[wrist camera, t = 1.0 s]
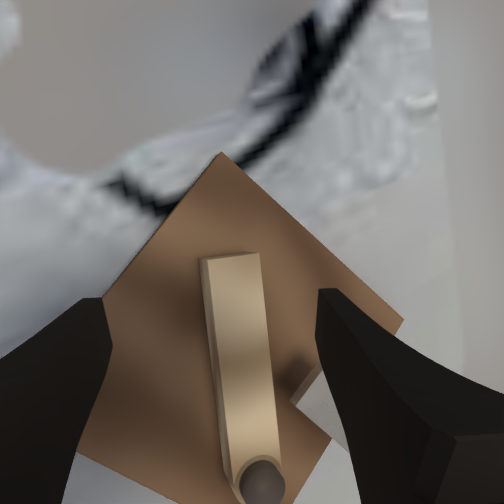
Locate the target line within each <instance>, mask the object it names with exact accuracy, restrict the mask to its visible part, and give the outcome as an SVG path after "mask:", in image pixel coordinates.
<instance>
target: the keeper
mask: <svg viewBox="0 0 504 504" xmlns="http://www.w3.org/2000/svg"><path fill="white" fill-rule="evenodd" d="M289 401H290V402H291V403H292V404H294V405H295V406H296V407H297V408H298V409H299V410H300V411H302V412H303V413H304V414H305V415H306V416H307V417H308V418H310V419H311V420H312V421H313V422H314V423H315V424H317V425H318V426H319V427H320V428H321V429H322V430H323V431H325V432H326V433H327V434H328V435H329V436H330V437H331V438H333V439H334V440H335V441H336V442H337V443H338V444H340V445H341V446H342V447H343V448H344V449H345V450H346V451H348V452H349V448H348V444H347V440H346V436H345V432H344V429H343V426H342V423H341V420H340V417H339V414H338V411H337V409H336V406H335V403H334V400H333V397H332V395H331V392H330V389H329V386H328V383H327V381H326V378H325V375H324V372H323V369H322V366H321V363H320V360H319V361H318V362H317V364H316V365H315V366H314V368H313V369H312V370H311V372H310V373H309V374H308V376H307V377H306V378H305V380H304V381H303V382H302V384H301V385H300V386H299V388H298V389H297V390H296V392H295V393H294V394H293V396H292V397H291V398H290V400H289ZM349 453H350V452H349Z"/></svg>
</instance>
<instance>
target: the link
mask: <svg viewBox="0 0 504 504" xmlns="http://www.w3.org/2000/svg"><path fill="white" fill-rule="evenodd" d="M199 266H200V274H201V283H202V291H203V300H204V308H205V316H206V325H207V333H208V342H209V350H210V359H211V367H212V376H213V384H214V392H215V401H216V409H217V418H218V426H219V435H220V443H221V451H222V460H223V468H224V473H225V476H226V478H227V480H228V482H229V484H230V486H231V488H232V490H233V492H234V494H235V496H236V498H237V499H238V501H239V502H240V503H241V504H279V503H280V502H281V500H282V499H283V496H284V493H285V480H284V478H283V476H282V464H281V455H280V445H279V436H278V426H277V417H276V407H275V398H274V388H273V379H272V369H271V360H270V350H269V341H268V331H267V322H266V312H265V302H264V293H263V283H262V274H261V264H260V255H259V253H255V252H240V253H233V254H226V255H218V256H211V257H204V258H199Z"/></svg>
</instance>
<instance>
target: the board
mask: <svg viewBox="0 0 504 504" xmlns="http://www.w3.org/2000/svg"><path fill="white" fill-rule="evenodd" d="M240 252H255V253H259V255H260V264H261V274H262V283H263V293H264V302H265V312H266V322H267V331H268V341H269V350H270V360H271V369H272V379H273V388H274V398H275V407H276V417H277V426H278V436H279V445H280V455H281V464H282V476H283V478H284V480H285V493H284V496H283V499H282V500H281V502H280V503H279V504H293V502H294V500H295V499H296V497H297V495H298V494H299V492H300V490H301V489H302V487H303V485H304V484H305V482H306V480H307V479H308V477H309V475H310V474H311V472H312V471H313V469H314V467H315V466H316V464H317V462H318V461H319V459H320V457H321V456H322V454H323V452H324V451H325V449H326V447H327V446H328V444H329V443H330V441H331V439H332V438H331V437H330V436H329V435H328V434H327V433H326V432H325V431H323V430H322V429H321V428H320V427H319V426H318V425H317V424H315V423H314V422H313V421H312V420H311V419H310V418H308V417H307V416H306V415H305V414H304V413H303V412H302V411H300V410H299V409H298V408H297V407H296V406H295V405H294V404H292V403H291V402H290V401H289V400H290V398H291V397H292V396H293V394H294V393H295V392H296V390H297V389H298V388H299V386H300V385H301V384H302V382H303V381H304V380H305V378H306V377H307V376H308V374H309V373H310V372H311V370H312V369H313V368H314V366H315V365H316V364H317V362H318V361H319V360H320V359H319V355H318V351H317V346H316V341H315V325H316V313H317V301H318V289H320V288H337V289H338V290H340V291H341V292H342V293H343V294H344V295H345V296H346V297H347V298H349V299H350V300H351V301H352V302H353V303H354V304H355V305H356V306H358V307H359V308H360V309H361V310H362V311H363V312H364V313H366V314H367V315H368V316H369V317H370V318H372V319H373V320H374V321H375V322H376V323H378V324H379V325H380V326H382V327H383V328H384V329H385V330H387V331H388V332H390V333H391V334H392V335H395V334H396V332H397V330H398V329H399V327H400V325H401V324H402V322H403V320H404V319H403V318H402V317H401V316H400V315H399V314H398V313H397V312H396V311H395V310H393V309H392V308H391V307H390V306H389V305H388V304H387V303H386V302H385V301H384V300H383V299H381V298H380V297H379V296H378V295H377V294H376V293H375V292H374V291H373V290H372V289H371V288H369V287H368V286H367V285H366V284H365V283H364V282H363V281H362V280H361V279H360V278H359V277H358V276H356V275H355V274H354V273H353V272H352V271H351V270H350V269H349V268H348V267H347V266H346V265H344V264H343V263H342V262H341V261H340V260H339V259H338V258H337V257H336V256H335V255H334V254H332V253H331V252H330V251H329V250H328V249H327V248H326V247H325V246H324V245H323V244H322V243H321V242H319V241H318V240H317V239H316V238H315V237H314V236H313V235H312V234H311V233H310V232H309V231H307V230H306V229H305V228H304V227H303V226H302V225H301V224H300V223H299V222H298V221H297V220H295V219H294V218H293V217H292V216H291V215H290V214H289V213H288V212H287V211H286V210H285V209H284V208H282V207H281V206H280V205H279V204H278V203H277V202H276V201H275V200H274V199H273V198H272V197H270V196H269V195H268V194H267V193H266V192H265V191H264V190H263V189H262V188H261V187H260V186H258V185H257V184H256V183H255V182H254V181H253V180H252V179H251V178H250V177H249V176H248V175H247V174H245V173H244V172H243V171H242V170H241V169H240V168H239V167H238V166H237V165H236V164H235V163H233V162H232V161H231V160H230V159H229V158H228V157H227V156H226V155H225V154H224V153H223V152H220V153H219V154H218V155H217V156H216V157H215V158H214V159H213V160H212V162H211V163H210V164H209V165H208V167H207V168H206V169H205V170H204V172H203V173H202V174H201V175H200V177H199V178H198V179H197V180H196V182H195V183H194V184H193V185H192V187H191V188H190V189H189V190H188V192H187V193H186V194H185V195H184V196H183V198H182V199H181V200H180V201H179V203H178V204H177V205H176V206H175V208H174V209H173V210H172V211H171V213H170V214H169V215H168V216H167V218H166V219H165V220H164V221H163V223H162V224H161V225H160V226H159V227H158V229H157V230H156V231H155V232H154V234H153V235H152V236H151V237H150V239H149V240H148V241H147V242H146V244H145V245H144V246H143V247H142V249H141V250H140V251H139V252H138V254H137V255H136V256H135V257H134V259H133V260H132V261H131V262H130V263H129V265H128V266H127V267H126V268H125V270H124V271H123V272H122V273H121V275H120V276H119V277H118V278H117V280H116V281H115V282H114V283H113V285H112V286H111V287H110V288H109V290H108V291H107V292H106V293H105V295H104V296H103V297H102V300H103V305H104V309H105V313H106V317H107V322H108V326H109V330H110V334H111V339H112V343H113V349H112V353H111V357H110V361H109V365H108V369H107V373H106V376H105V378H104V381H103V383H102V386H101V388H100V391H99V393H98V396H97V398H96V401H95V403H94V406H93V408H92V411H91V413H90V416H89V418H88V421H87V423H86V425H85V428H84V430H83V433H82V435H81V438H80V441H79V444H78V447H77V449H76V452H78V453H80V454H82V455H84V456H86V457H88V458H90V459H92V460H94V461H96V462H98V463H100V464H102V465H104V466H106V467H108V468H110V469H112V470H114V471H116V472H118V473H120V474H121V475H123V476H125V477H127V478H129V479H131V480H133V481H135V482H137V483H139V484H141V485H143V486H145V487H147V488H149V489H151V490H153V491H155V492H157V493H159V494H161V495H163V496H165V497H167V498H169V499H170V500H172V501H174V502H176V503H178V504H241V503H240V502H239V501H238V499H237V498H236V496H235V494H234V492H233V490H232V488H231V486H230V484H229V482H228V480H227V478H226V476H225V473H224V468H223V460H222V451H221V443H220V435H219V426H218V418H217V409H216V401H215V392H214V384H213V376H212V367H211V359H210V350H209V342H208V333H207V325H206V316H205V308H204V300H203V291H202V283H201V274H200V266H199V258H204V257H211V256H218V255H226V254H233V253H240Z"/></svg>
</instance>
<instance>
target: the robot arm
mask: <svg viewBox="0 0 504 504" xmlns="http://www.w3.org/2000/svg"><path fill="white" fill-rule="evenodd" d="M315 341H316V346H317V351H318V355H319V359H320V363H321V366H322V369H323V372H324V375H325V378H326V381H327V383H328V386H329V389H330V392H331V395H332V397H333V400H334V403H335V406H336V409H337V411H338V414H339V417H340V420H341V423H342V426H343V429H344V432H345V436H346V440H347V444H348V448H349V452H350V456H351V460H352V464H353V469H354V473H355V477H356V482H357V486H358V490H359V495H360V499H361V504H504V394H502V393H499V392H497V391H495V390H492V389H490V388H487V387H485V386H483V385H481V384H478V383H476V382H474V381H471V380H470V379H467V378H465V377H463V376H461V375H459V374H457V373H455V372H453V371H451V370H449V369H447V368H445V367H444V366H442V365H440V364H438V363H436V362H434V361H432V360H431V359H429V358H427V357H425V356H424V355H422V354H421V353H419V352H417V351H416V350H414V349H413V348H411V347H409V346H408V345H406V344H405V343H403V342H402V341H400V340H399V339H398V338H396V337H395V336H394V335H392V334H391V333H390V332H388V331H387V330H385V329H384V328H383V327H382V326H380V325H379V324H378V323H376V322H375V321H374V320H373V319H372V318H370V317H369V316H368V315H367V314H366V313H364V312H363V311H362V310H361V309H360V308H359V307H358V306H356V305H355V304H354V303H353V302H352V301H351V300H350V299H349V298H347V297H346V296H345V295H344V294H343V293H342V292H341V291H340V290H338V289H337V288H320V289H318V301H317V313H316V325H315ZM112 349H113V343H112V339H111V334H110V330H109V326H108V322H107V317H106V313H105V309H104V305H103V300H102V297H101V298H83V299H81V300H80V301H78V302H77V303H76V304H74V305H73V306H72V307H70V308H69V309H68V310H66V311H65V312H64V313H63V314H61V315H60V316H59V317H57V318H56V319H55V320H54V321H52V322H51V323H50V324H48V325H47V326H46V327H45V328H43V329H42V330H41V331H39V332H38V333H37V334H35V335H34V336H33V337H31V338H30V339H28V340H27V341H26V342H24V343H23V344H21V345H20V346H19V347H17V348H16V349H14V350H13V351H12V352H10V353H9V354H7V355H6V356H4V357H3V358H1V359H0V504H61V503H62V499H63V495H64V491H65V488H66V484H67V480H68V477H69V473H70V470H71V466H72V463H73V459H74V456H75V452H76V449H77V447H78V444H79V441H80V438H81V435H82V433H83V430H84V428H85V425H86V423H87V421H88V418H89V416H90V413H91V411H92V408H93V406H94V403H95V401H96V398H97V396H98V393H99V391H100V388H101V386H102V383H103V381H104V378H105V376H106V373H107V369H108V365H109V361H110V357H111V353H112Z"/></svg>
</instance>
